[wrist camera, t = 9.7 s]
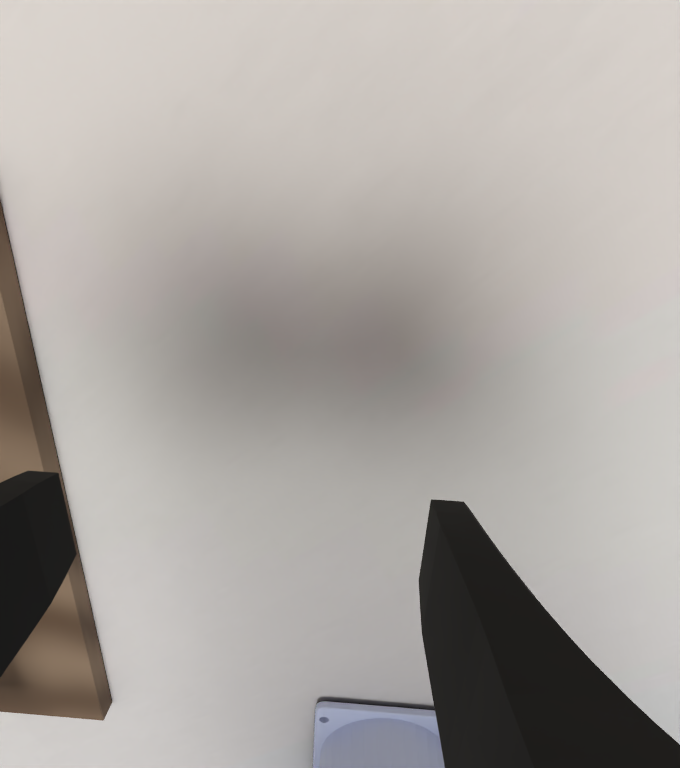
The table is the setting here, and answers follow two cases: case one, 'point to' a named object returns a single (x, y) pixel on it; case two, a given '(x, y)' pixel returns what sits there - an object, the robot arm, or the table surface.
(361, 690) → the table surface
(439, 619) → the robot arm
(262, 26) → the table surface
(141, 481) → the table surface
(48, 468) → the board
